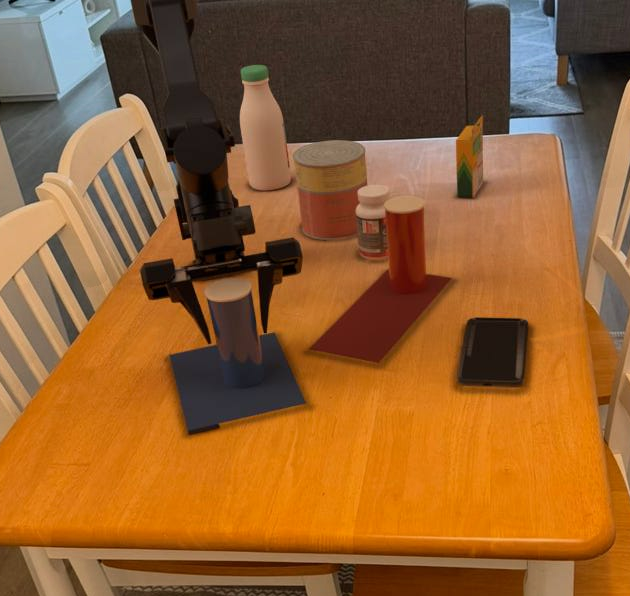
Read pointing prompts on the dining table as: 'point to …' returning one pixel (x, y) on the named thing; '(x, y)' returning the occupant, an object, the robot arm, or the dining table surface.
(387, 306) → the red mat
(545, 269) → the dining table surface
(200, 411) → the blue mat
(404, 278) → the red canister
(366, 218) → the pill bottle
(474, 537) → the dining table surface
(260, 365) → the blue canister
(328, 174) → the canned food
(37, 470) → the dining table surface
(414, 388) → the dining table surface
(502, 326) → the phone
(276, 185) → the milk bottle
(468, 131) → the crayon box
